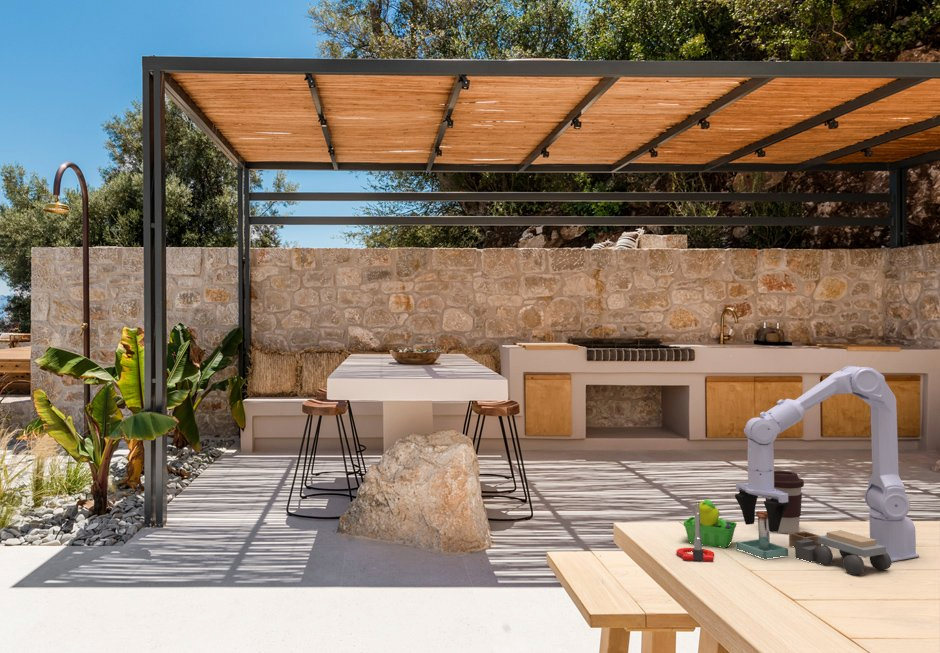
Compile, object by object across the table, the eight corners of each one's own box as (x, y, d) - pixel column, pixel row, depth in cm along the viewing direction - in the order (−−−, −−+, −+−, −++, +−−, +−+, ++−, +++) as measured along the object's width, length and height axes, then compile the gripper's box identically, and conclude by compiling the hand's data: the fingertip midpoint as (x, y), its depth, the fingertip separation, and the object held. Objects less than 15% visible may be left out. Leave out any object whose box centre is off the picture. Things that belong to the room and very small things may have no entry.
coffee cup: (756, 526, 201) (755, 470, 201) (791, 525, 202) (790, 469, 203) (775, 536, 191) (774, 476, 192) (812, 534, 192) (811, 475, 193)
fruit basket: (737, 542, 186) (737, 496, 186) (729, 551, 178) (728, 503, 178) (691, 536, 192) (690, 492, 192) (681, 544, 184) (680, 498, 184)
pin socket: (804, 543, 184) (804, 531, 184) (821, 548, 180) (821, 536, 180) (789, 545, 182) (788, 533, 182) (805, 551, 178) (805, 538, 178)
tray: (759, 546, 182) (759, 539, 182) (788, 556, 174) (788, 548, 174) (736, 549, 179) (736, 542, 179) (764, 560, 171) (764, 552, 171)
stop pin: (764, 547, 179) (763, 510, 179) (774, 551, 176) (773, 513, 176) (754, 549, 178) (753, 511, 178) (764, 552, 175) (763, 514, 175)
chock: (808, 556, 174) (808, 539, 174) (822, 561, 170) (822, 543, 170) (795, 558, 172) (795, 541, 173) (809, 563, 169) (809, 545, 169)
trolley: (812, 561, 169) (812, 531, 169) (844, 556, 173) (843, 527, 173) (859, 577, 158) (858, 545, 158) (891, 571, 162) (890, 540, 162)
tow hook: (674, 551, 180) (679, 561, 171) (674, 496, 181) (678, 503, 171) (711, 553, 178) (717, 563, 169) (710, 498, 179) (717, 504, 170)
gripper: (725, 465, 182) (726, 522, 182) (771, 475, 168) (771, 537, 168) (748, 463, 185) (749, 519, 184) (794, 473, 171) (795, 533, 171)
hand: (761, 527), depth 177 cm, fingers open, 7 cm apart
